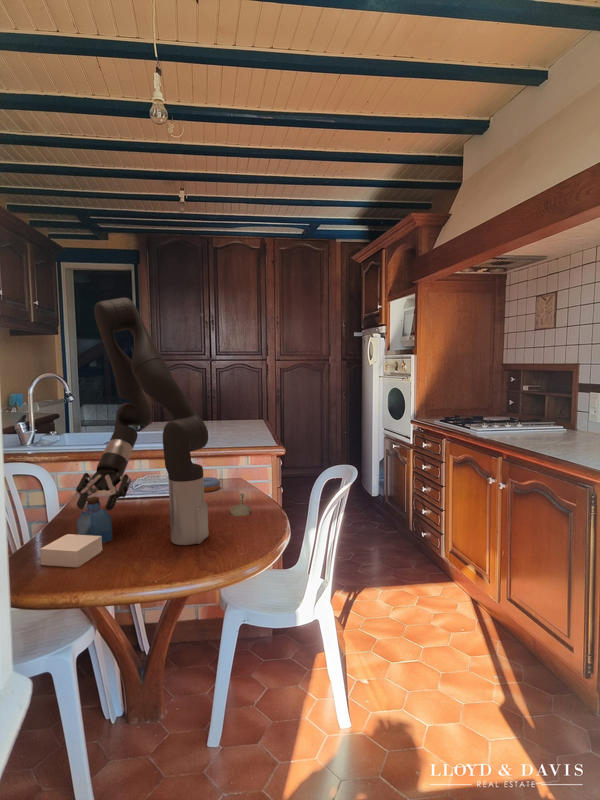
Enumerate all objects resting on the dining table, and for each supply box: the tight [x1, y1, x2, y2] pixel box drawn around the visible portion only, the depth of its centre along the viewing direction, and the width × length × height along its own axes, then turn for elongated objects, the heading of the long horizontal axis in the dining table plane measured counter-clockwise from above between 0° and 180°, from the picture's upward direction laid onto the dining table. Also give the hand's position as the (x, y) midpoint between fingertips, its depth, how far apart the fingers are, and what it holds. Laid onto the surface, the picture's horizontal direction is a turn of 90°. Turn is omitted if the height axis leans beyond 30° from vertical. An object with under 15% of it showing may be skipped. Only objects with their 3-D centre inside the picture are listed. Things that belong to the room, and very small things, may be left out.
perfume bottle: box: [76, 496, 113, 544], centre depth 133 cm, size 6×6×12 cm
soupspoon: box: [230, 492, 252, 517], centre depth 163 cm, size 22×3×7 cm
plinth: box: [39, 533, 103, 568], centre depth 123 cm, size 10×10×4 cm
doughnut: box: [203, 476, 221, 493], centre depth 185 cm, size 10×10×5 cm
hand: (93, 508), depth 133 cm, fingers open, 8 cm apart
